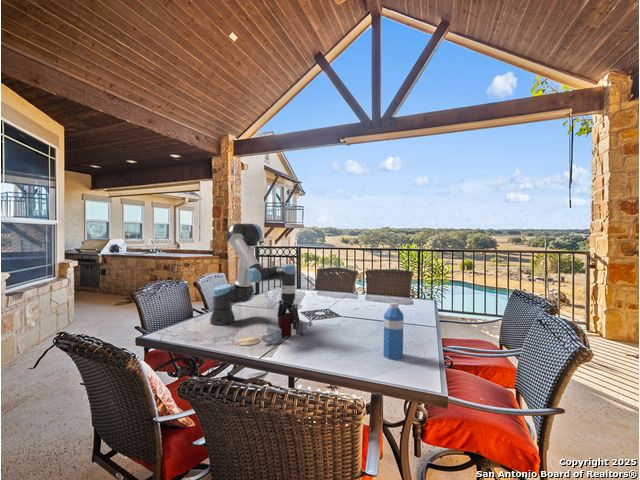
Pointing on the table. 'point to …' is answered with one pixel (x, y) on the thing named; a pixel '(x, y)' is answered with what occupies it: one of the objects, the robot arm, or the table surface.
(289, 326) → the mug
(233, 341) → the table surface
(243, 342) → the coaster
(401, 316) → the water bottle
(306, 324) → the vise
